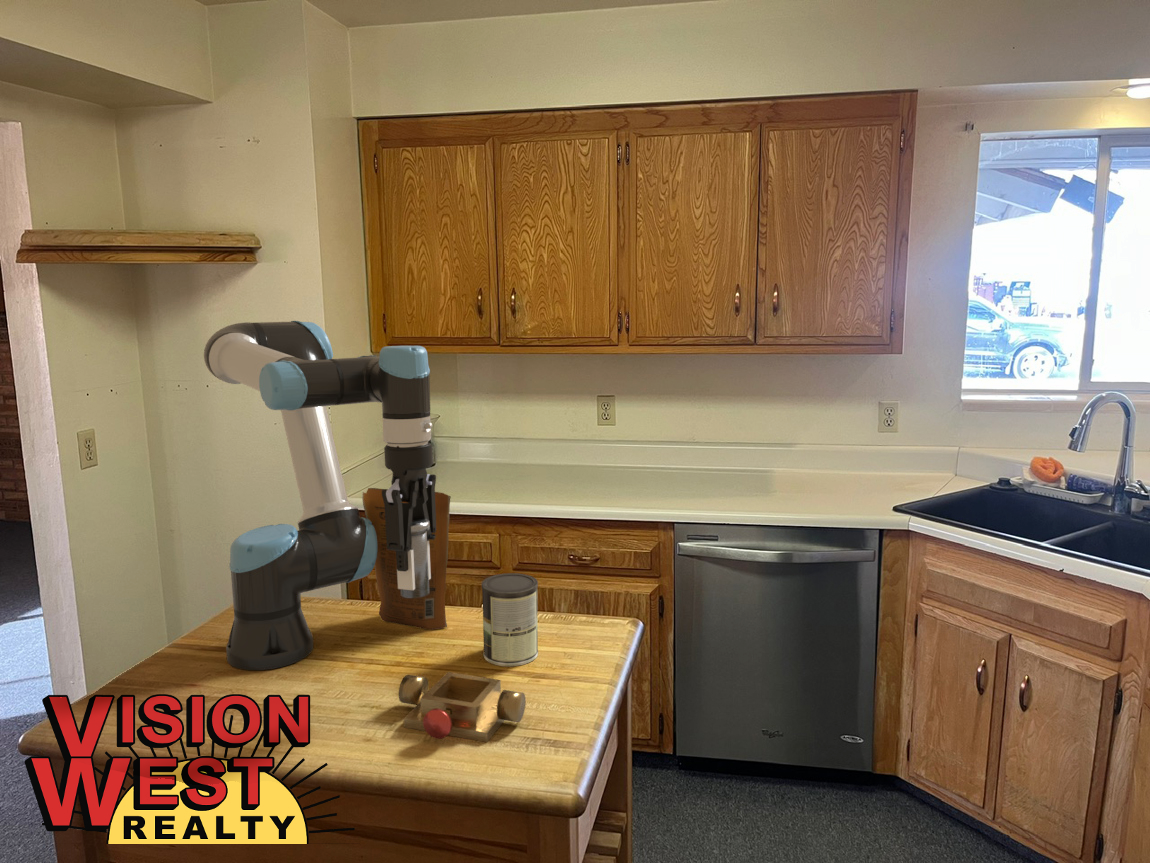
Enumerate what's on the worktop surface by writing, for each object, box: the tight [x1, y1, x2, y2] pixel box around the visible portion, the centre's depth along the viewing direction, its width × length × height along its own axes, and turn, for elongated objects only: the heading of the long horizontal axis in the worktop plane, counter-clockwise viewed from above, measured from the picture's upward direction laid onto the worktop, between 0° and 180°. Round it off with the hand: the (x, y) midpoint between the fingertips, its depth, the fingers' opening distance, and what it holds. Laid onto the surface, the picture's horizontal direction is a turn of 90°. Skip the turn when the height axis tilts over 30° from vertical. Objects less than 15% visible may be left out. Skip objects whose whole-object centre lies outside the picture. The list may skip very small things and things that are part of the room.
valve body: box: [398, 671, 527, 743], centre depth 128 cm, size 20×15×5 cm
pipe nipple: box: [401, 518, 430, 598], centre depth 132 cm, size 6×6×12 cm
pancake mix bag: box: [361, 487, 452, 630], centre depth 163 cm, size 7×19×28 cm, turn 67°
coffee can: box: [481, 572, 539, 667], centre depth 150 cm, size 10×10×14 cm
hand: (414, 583), depth 133 cm, fingers closed on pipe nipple, 5 cm apart
